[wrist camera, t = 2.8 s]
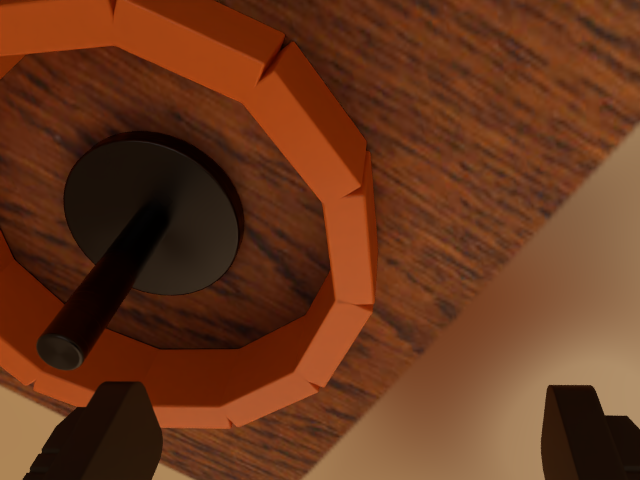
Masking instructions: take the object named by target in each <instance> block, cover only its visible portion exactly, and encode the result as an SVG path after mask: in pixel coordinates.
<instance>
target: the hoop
mask: <svg viewBox="0 0 640 480" xmlns="http://www.w3.org/2000/svg"><path fill="white" fill-rule="evenodd" d="M284 38H285V34H284V33H282V32H280V31H278V30H276V29H274V28H272V27H269V26H267V25H265V24H263V23H261V22H259V21H257V20H255V19H252V18H250V17H248V16H246V15H244V14H242V13H240V12H238V11H235V10H233V9H231V8H229V7H227V6H225V5H223V4H221V3H219V2H216V1H214V0H0V79H2V78H3V77H4V76H5V75H6V74H7V73H8V72H9V71H10V70H11V69H12V68H13V67H14V66H15V65H16V64H17V63H18V62H19V61H20V60H21V59H22V58H23V57H24V56H25V55H26V54H34V53H44V52H55V51H65V50H75V49H85V48H96V47H106V46H117V47H119V48H121V49H123V50H125V51H128V52H130V53H132V54H134V55H136V56H139V57H141V58H143V59H145V60H148V61H150V62H152V63H154V64H156V65H159V66H161V67H163V68H165V69H167V70H170V71H172V72H174V73H176V74H179V75H181V76H183V77H185V78H187V79H190V80H192V81H194V82H196V83H198V84H201V85H203V86H205V87H207V88H209V89H212V90H214V91H216V92H218V93H221V94H223V95H225V96H227V97H229V98H232V99H234V100H236V101H238V102H240V103H242V104H243V105H244V106H245V107H246V109H247V110H248V111H249V112H250V114H251V115H252V116H253V117H254V119H255V120H256V121H257V122H258V124H259V125H260V126H261V127H262V129H263V130H264V131H265V132H266V133H267V135H268V136H269V137H270V138H271V140H272V141H273V142H274V143H275V145H276V146H277V147H278V148H279V150H280V151H281V152H282V153H283V155H284V156H285V157H286V158H287V160H288V161H289V162H290V163H291V165H292V166H293V167H294V168H295V170H296V171H297V172H298V173H299V175H300V176H301V177H302V178H303V180H304V181H305V182H306V183H307V185H308V186H309V187H310V188H311V190H312V191H313V192H314V193H315V195H316V196H317V197H318V198H319V200H320V201H321V202H322V207H323V214H324V222H325V230H326V237H327V245H328V253H329V260H330V268H331V270H330V272H329V273H328V275H327V277H326V279H325V281H324V283H323V284H322V286H321V288H320V290H319V292H318V293H317V295H316V297H315V299H314V301H313V302H312V304H311V306H310V308H309V310H308V311H307V313H306V315H304V316H302V317H300V318H298V319H296V320H294V321H292V322H290V323H289V324H287V325H285V326H283V327H281V328H279V329H277V330H275V331H273V332H271V333H269V334H267V335H265V336H263V337H261V338H259V339H257V340H256V341H254V342H252V343H250V344H248V345H246V346H244V347H242V348H240V349H157V348H155V347H152V346H150V345H147V344H145V343H142V342H140V341H137V340H134V339H132V338H129V337H127V336H124V335H122V334H119V333H116V332H114V331H111V330H109V329H106V328H105V330H104V331H103V333H102V334H101V336H100V337H99V339H98V341H97V342H96V344H95V345H94V347H93V348H92V350H91V351H90V353H89V354H88V356H87V358H86V359H85V361H84V362H83V364H82V365H81V366H80V367H78V368H76V369H74V370H68V371H66V370H59V369H56V368H54V367H52V366H50V365H48V364H47V363H45V362H44V361H43V360H42V359H41V358H40V356H39V355H38V353H37V350H36V343H37V340H38V338H39V337H40V336H41V334H42V333H43V332H44V331H45V329H46V328H47V327H48V325H49V324H50V323H51V322H52V320H53V319H54V318H55V316H56V315H57V314H58V313H59V311H60V310H61V309H62V307H63V306H64V305H65V304H63V303H62V302H61V301H60V300H59V299H58V298H57V297H56V296H54V295H53V294H52V293H51V292H50V291H49V290H48V289H47V288H46V287H44V286H43V285H42V284H41V283H40V282H39V281H38V280H37V279H35V278H34V277H33V276H32V275H31V274H30V273H29V272H28V271H27V270H25V269H24V268H23V267H22V266H21V265H20V264H19V263H18V262H16V261H15V260H14V258H13V256H12V254H11V251H10V249H9V247H8V245H7V243H6V241H5V239H4V236H3V234H2V232H1V230H0V366H1V367H2V368H4V369H5V370H6V371H7V372H9V373H10V374H11V375H12V376H14V377H15V378H16V379H17V380H19V381H20V382H21V383H22V384H24V385H26V386H27V385H29V384H31V383H32V382H34V381H35V383H34V388H33V390H34V391H36V392H39V393H41V394H44V395H47V396H49V397H52V398H55V399H57V400H60V401H63V402H66V403H68V404H71V405H74V406H76V407H86V406H87V404H88V403H89V401H90V399H91V398H92V396H93V394H94V393H95V391H96V389H97V388H98V386H99V385H100V384H101V383H103V382H105V381H139V382H141V383H143V385H144V386H145V388H146V391H147V393H148V396H149V399H150V401H151V404H152V407H153V409H154V412H155V415H156V417H157V420H158V423H159V425H160V428H210V429H230V428H231V427H232V423H233V424H234V425H235V426H237V427H241V426H243V425H245V424H248V423H250V422H252V421H254V420H257V419H259V418H261V417H263V416H266V415H268V414H270V413H272V412H275V411H277V410H279V409H281V408H284V407H286V406H288V405H290V404H293V403H295V402H297V401H299V400H302V399H304V398H306V397H308V396H311V395H313V394H315V393H318V392H319V388H320V386H321V387H325V386H326V384H327V383H328V381H329V380H330V378H331V377H332V375H333V373H334V372H335V370H336V369H337V367H338V366H339V364H340V362H341V361H342V359H343V358H344V356H345V355H346V353H347V352H348V350H349V348H350V347H351V345H352V344H353V342H354V341H355V339H356V337H357V336H358V334H359V333H360V331H361V330H362V328H363V327H364V325H365V323H366V322H367V320H368V319H369V317H370V316H371V314H372V312H373V304H374V302H375V292H376V276H377V260H378V241H377V228H376V216H375V203H374V190H373V177H372V164H371V153H370V151H366V146H367V141H366V140H365V138H364V137H363V135H362V134H361V133H360V131H359V130H358V129H357V127H356V126H355V124H354V123H353V122H352V120H351V119H350V118H349V116H348V115H347V113H346V112H345V111H344V109H343V108H342V107H341V105H340V104H339V102H338V101H337V100H336V98H335V97H334V96H333V94H332V93H331V91H330V90H329V89H328V87H327V86H326V85H325V83H324V82H323V80H322V79H321V78H320V76H319V75H318V74H317V72H316V71H315V69H314V68H313V67H312V65H311V64H310V63H309V61H308V60H307V58H306V57H305V56H304V54H303V53H302V52H301V50H300V49H299V47H298V46H297V45H296V43H295V42H294V41H292V42H291V43H289V44H288V45H287V46H285V47H284V48H283V49H281V46H282V44H283V41H284ZM280 49H281V50H280Z"/></svg>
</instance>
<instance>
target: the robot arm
mask: <svg viewBox="0 0 640 480" xmlns="http://www.w3.org/2000/svg"><path fill="white" fill-rule="evenodd" d="M162 445H163V438H162V431H161V428H160V425H159V423H158V420H157V417H156V415H155V412H154V409H153V407H152V404H151V401H150V399H149V396H148V393H147V391H146V388H145V386H144V385H143V383H141V382H139V381H105V382H103V383H101V384H100V385H99V386H98V388H97V389H96V391H95V393H94V394H93V396H92V398H91V399H90V401H89V403H88V404H87V406H86V407H77V408H76V409H75V410H74V411H73V412H72V413H70V414H69V415H68V416H67V417H66V418H65V419H64V420H63V421H62V422H61V423H60V424H59V425H57V426H56V428H55V429H54V431H53V432H52V434H51V435H50V437H49V439H48V440H47V442H46V443H45V445H44V446H43V448H42V453H41V454H38V456H37V457H36V459H35V461H34V462H33V464H32V466H31V467H30V472H29V473H26V475H25V476H24V478H23V480H152V477H153V475H154V473H155V470H156V468H157V466H158V463H159V460H160V457H161V453H162ZM541 456H542V464H543V471H544V476H545V480H640V429H639V428H638V427H637V426H636V425H635V424H634V423H633V422H632V421H631V420H630V419H629V417H628V416H606V415H604V412H603V410H602V407H601V404H600V401H599V399H598V396H597V393H596V391H595V389H594V388H593V386H591V385H549V386H548V388H547V393H546V402H545V410H544V419H543V428H542V437H541Z"/></svg>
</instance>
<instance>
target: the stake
mask: <svg viewBox="0 0 640 480" xmlns="http://www.w3.org/2000/svg"><path fill="white" fill-rule="evenodd" d="M63 199H64V211H65V217H66V220H67V224H68V227H69V229H70V231H71V233H72V236H73V238H74V239H75V241H76V242H77V244H78V246H79V247H80V248H81V250H82V251H83V252H84V254H85V255H86V256H87V257H88V258H89V259H90V260H91V261H92V262H93V263H94V264H95V266H94V267H93V269H92V270H91V271H90V273H89V274H88V275H87V276H86V278H85V279H84V280H83V282H82V283H81V284H80V286H79V287H78V288H77V289H76V291H75V292H74V293H73V295H72V296H71V297H70V298H69V300H68V301H67V302H66V304H65V305H64V306H63V307H62V309H61V310H60V311H59V313H58V314H57V315H56V316H55V318H54V319H53V320H52V322H51V323H50V324H49V325H48V327H47V328H46V329H45V331H44V332H43V333H42V334H41V336H40V337H39V338H38V340H37V343H36V350H37V353H38V355H39V356H40V358H41V359H42V360H43V361H44V362H45V363H47V364H48V365H50V366H52V367H54V368H56V369H59V370H66V371H68V370H74V369H76V368H78V367H80V366H81V365H82V364H83V362H84V361H85V359H86V358H87V356H88V354H89V353H90V351H91V350H92V348H93V347H94V345H95V344H96V342H97V341H98V339H99V337H100V336H101V334H102V333H103V331H104V330H105V328H106V327H107V325H108V324H109V322H110V320H111V319H112V317H113V316H114V314H115V313H116V311H117V310H118V308H119V307H120V305H121V303H122V302H123V300H124V299H125V297H126V296H127V294H128V293H129V291H130V290H131V288H134V289H137V290H140V291H143V292H147V293H151V294H158V295H184V294H189V293H193V292H196V291H199V290H202V289H204V288H206V287H208V286H210V285H212V284H213V283H215V282H216V281H218V280H219V279H220V278H221V277H222V276H223V275H224V274H225V273H226V272H227V271H228V269H229V268H230V267H231V265H232V263H233V261H234V259H235V257H236V255H237V253H238V250H239V248H240V245H241V242H242V239H243V233H244V216H243V210H242V206H241V202H240V199H239V197H238V195H237V192H236V190H235V188H234V186H233V185H232V183H231V181H230V180H229V178H228V177H227V175H226V174H225V173H224V172H223V170H222V169H221V168H220V167H219V166H218V165H217V164H216V163H215V162H214V161H213V160H212V159H211V158H210V157H208V156H207V155H206V154H205V153H203V152H202V151H200V150H199V149H197V148H196V147H194V146H193V145H191V144H189V143H187V142H185V141H183V140H180V139H178V138H175V137H172V136H169V135H165V134H161V133H156V132H148V131H132V132H125V133H120V134H116V135H113V136H110V137H108V138H106V139H104V140H102V141H100V142H99V143H97V144H96V145H94V146H93V147H92V148H91V149H90V150H89V151H87V152H86V153H85V154H84V155H83V156H82V157H81V158H80V159H79V160H78V161H77V162H76V164H75V165H74V166H73V168H72V169H71V171H70V173H69V175H68V178H67V181H66V184H65V189H64V198H63Z"/></svg>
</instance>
